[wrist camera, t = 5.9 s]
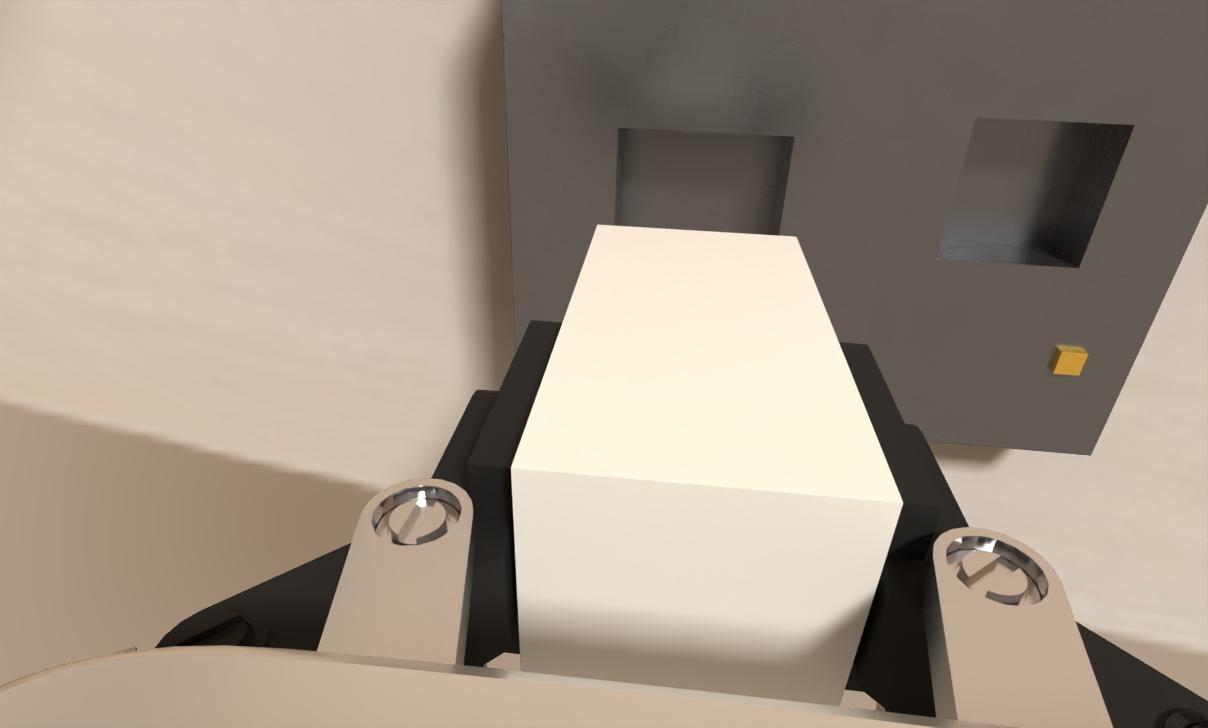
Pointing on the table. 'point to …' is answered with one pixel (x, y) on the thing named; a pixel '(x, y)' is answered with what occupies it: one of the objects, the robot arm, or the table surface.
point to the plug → (699, 476)
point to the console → (887, 176)
